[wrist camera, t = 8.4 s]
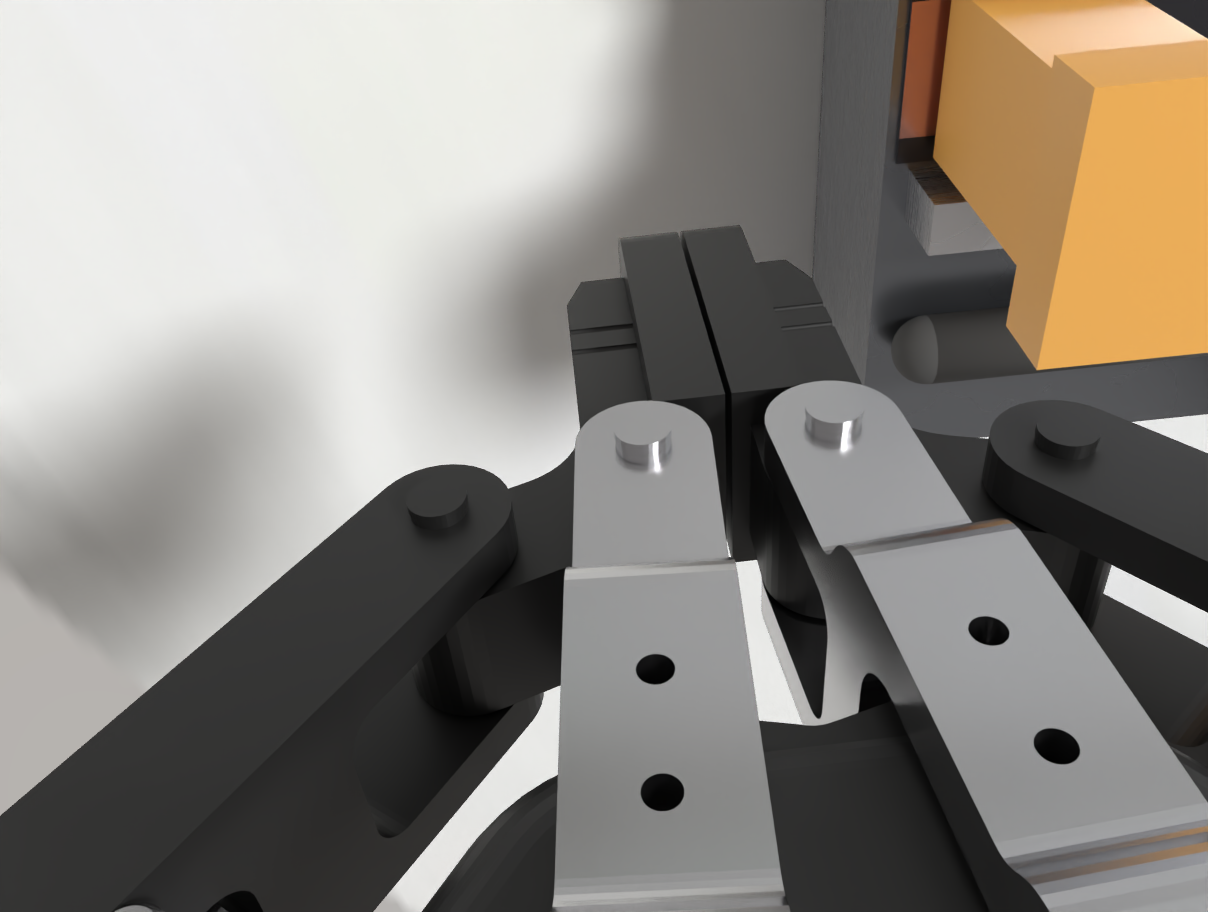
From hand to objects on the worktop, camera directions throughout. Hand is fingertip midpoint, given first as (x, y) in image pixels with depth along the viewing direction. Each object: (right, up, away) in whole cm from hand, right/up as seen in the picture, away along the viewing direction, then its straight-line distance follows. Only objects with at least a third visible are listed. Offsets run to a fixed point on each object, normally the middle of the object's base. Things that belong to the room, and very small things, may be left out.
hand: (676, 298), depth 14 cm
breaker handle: (+6, +5, +5) cm, 9 cm away
